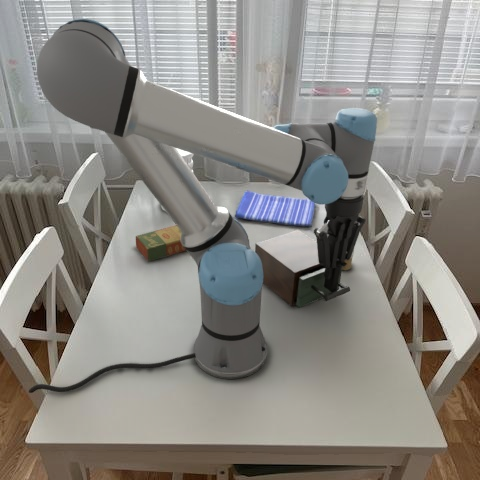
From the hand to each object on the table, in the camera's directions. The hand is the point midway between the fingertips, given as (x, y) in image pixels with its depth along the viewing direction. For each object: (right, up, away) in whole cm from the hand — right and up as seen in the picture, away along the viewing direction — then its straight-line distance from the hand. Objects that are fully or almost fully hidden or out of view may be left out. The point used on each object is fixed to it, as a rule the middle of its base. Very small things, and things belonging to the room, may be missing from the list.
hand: (330, 288), depth 113 cm
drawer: (-4, 0, +8) cm, 9 cm away
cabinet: (-7, +2, +12) cm, 14 cm away
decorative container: (-40, +29, +45) cm, 67 cm away
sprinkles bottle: (+7, +7, +18) cm, 21 cm away
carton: (-41, +13, +24) cm, 49 cm away
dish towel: (-9, +27, +43) cm, 51 cm away
